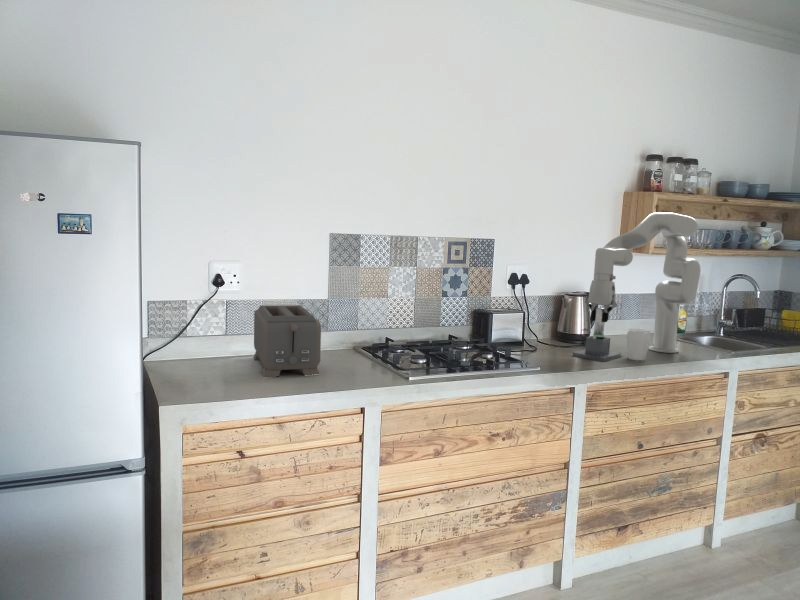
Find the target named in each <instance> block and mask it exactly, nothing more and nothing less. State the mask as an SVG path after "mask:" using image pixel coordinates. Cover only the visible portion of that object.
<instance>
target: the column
mask: <svg viewBox="0 0 800 600" xmlns="http://www.w3.org/2000/svg"><path fill="white" fill-rule="evenodd" d="M603 313H604V307H597V308H596V311H595V321H594V324H593V325H594V326H593V334H592V336H597V339H603V338H604V337H605V323H606V322H603Z"/></svg>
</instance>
